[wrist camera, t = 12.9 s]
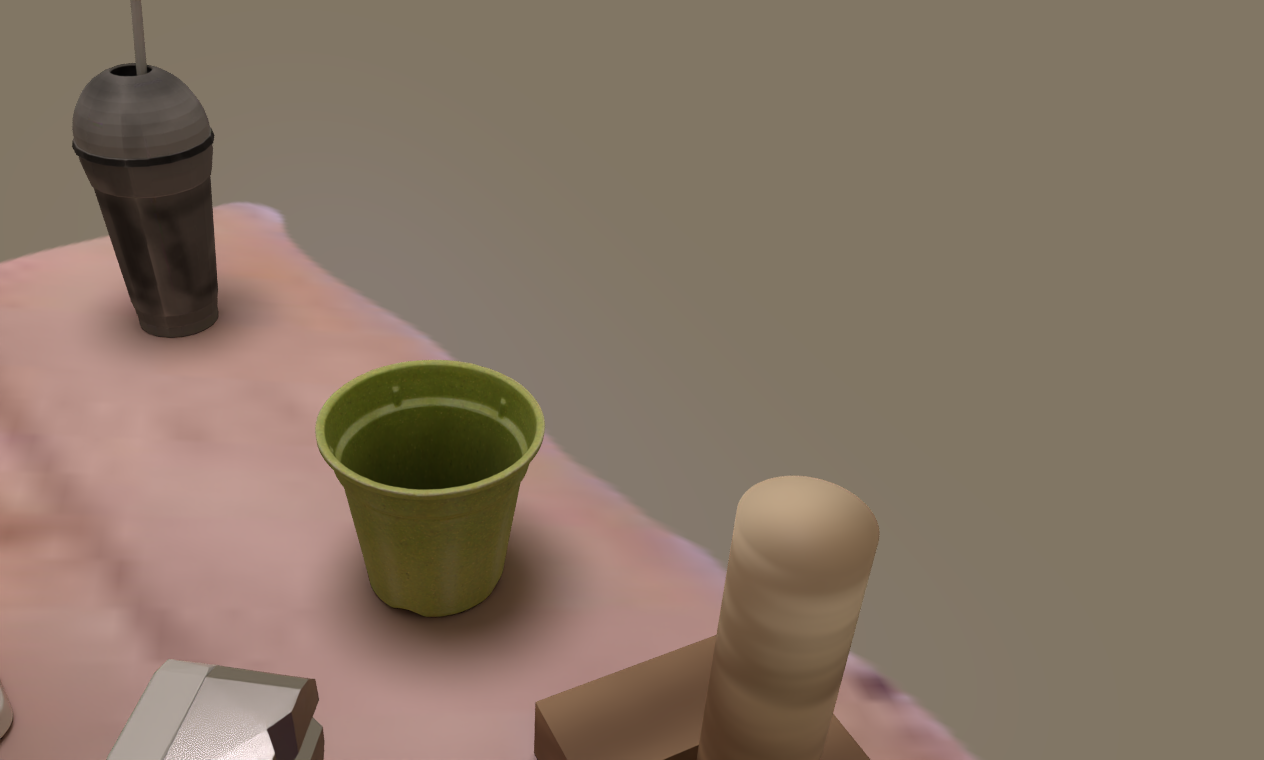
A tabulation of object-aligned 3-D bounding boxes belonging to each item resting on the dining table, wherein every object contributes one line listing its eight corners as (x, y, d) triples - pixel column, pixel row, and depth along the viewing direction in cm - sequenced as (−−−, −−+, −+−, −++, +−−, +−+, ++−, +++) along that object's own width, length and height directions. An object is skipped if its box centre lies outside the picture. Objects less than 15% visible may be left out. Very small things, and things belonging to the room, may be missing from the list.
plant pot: (486, 482, 55) (485, 339, 50) (576, 602, 49) (584, 451, 44) (306, 540, 51) (285, 390, 46) (377, 679, 45) (363, 521, 40)
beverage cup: (88, 323, 65) (1, -19, 54) (185, 277, 70) (126, -44, 59) (172, 363, 62) (99, 10, 51) (267, 311, 67) (220, -19, 56)
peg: (663, 828, 40) (709, 496, 31) (753, 787, 41) (823, 462, 32) (719, 923, 37) (790, 589, 28) (814, 876, 39) (909, 546, 30)
